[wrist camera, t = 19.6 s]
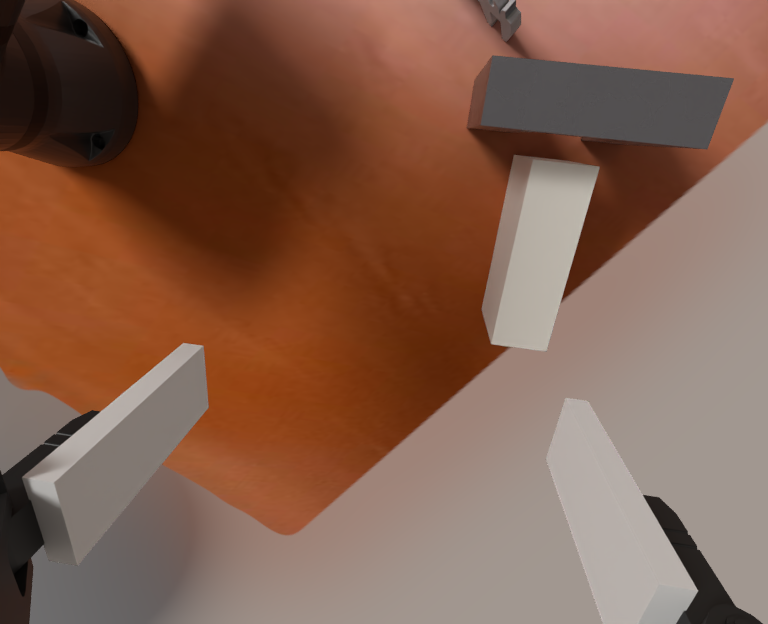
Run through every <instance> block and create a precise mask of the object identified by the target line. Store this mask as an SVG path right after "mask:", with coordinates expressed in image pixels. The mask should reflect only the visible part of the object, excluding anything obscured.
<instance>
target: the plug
mask: <svg viewBox="0 0 768 624" xmlns="http://www.w3.org/2000/svg"><path fill="white" fill-rule="evenodd" d="M599 168H600V167H598V166H593V165H588V164H582V163H577V162H572V161H566V160H557V159H548V158H539V157H530V156H521V155H514V157H513V162H512V166H511V171H510V176H509V181H508V186H507V190H506V195H505V200H504V205H503V209H502V214H501V219H500V224H499V228H498V233H497V238H496V243H495V248H494V252H493V257H492V262H491V267H490V271H489V276H488V281H487V286H486V291H485V295H484V300H483V305H482V313H483V316H484V320H485V324H486V327H487V331H488V335H489V338H490V342H491V344H494V345H501V346H505V347H516V348H523V349H531V350H538V351H545V352H546V351H547V348H548V344H549V341H550V337H551V334H552V330H553V327H554V324H555V320H556V317H557V313H558V310H559V306H560V303H561V299H562V296H563V292H564V289H565V286H566V282H567V279H568V275H569V272H570V268H571V265H572V261H573V258H574V254H575V251H576V247H577V244H578V241H579V237H580V234H581V230H582V227H583V223H584V220H585V216H586V213H587V209H588V206H589V202H590V199H591V196H592V192H593V189H594V185H595V182H596V178H597V175H598V171H599Z"/></svg>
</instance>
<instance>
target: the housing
mask: <svg viewBox="0 0 768 624" xmlns="http://www.w3.org/2000/svg"><path fill="white" fill-rule="evenodd" d="M733 80H734V78H723V77H713V76H702V75H692V74H681V73H671V72H660V71H650V70H639V69H629V68H618V67H608V66H597V65H587V64H576V63H566V62H555V61H545V60H534V59H524V58H513V57H503V56H492V57H491V58H490V60H489V61H488V62H487V64H486V65H485V66H484V68H483V69H482V71H481V72H480V73H479V75H478V76H477V77H476V79H475V81H474V87H473V93H472V99H471V105H470V112H469V118H468V124H467V128H470V129H480V130H489V131H498V132H508V133H517V132H540V133H550V134H559V135H569V136H578V137H582V139H581V140H583V141H593V142H602V143H611V144H621V145H635V146H655V147H674V148H693V149H708V146H709V143H710V141H711V138H712V135H713V133H714V130H715V127H716V125H717V122H718V119H719V117H720V114H721V112H722V109H723V106H724V104H725V101H726V98H727V96H728V93H729V90H730V88H731V85H732V83H733Z"/></svg>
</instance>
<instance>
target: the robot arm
mask: <svg viewBox="0 0 768 624" xmlns="http://www.w3.org/2000/svg"><path fill="white" fill-rule="evenodd" d="M137 115H138V95H137V88H136V83H135V78H134V75H133V72H132V69H131V66H130V63H129V61H128V59H127V56H126V54H125V52H124V51H123V49H122V47H121V45H120V44H119V42H118V40H117V39H116V38H115V36H114V35H113V33H112V32H111V31H110V30H109V28H108V27H107V26H106V25H105V24H104V23H103V22H102V21H101V20H100V19H99V18H98V17H97V16H96V15H95V14H94V13H92V12H91V11H90V10H89V9H87V8H86V7H84V6H83V5H81V4H80V3H78V2H76V1H74V0H0V151H10V152H13V153H16V154H19V155H23V156H26V157H29V158H33V159H36V160H39V161H43V162H46V163H49V164H53V165H57V166H63V167H83V166H94V165H99V164H102V163H105V162H107V161H109V160H111V159H113V158H114V157H116V156H117V155H118V154H119V153H120V152H121V151H122V150H123V149H124V148H125V147H126V145H127V144H128V142H129V141H130V139H131V137H132V135H133V132H134V129H135V126H136V121H137ZM208 408H209V407H208V394H207V382H206V370H205V358H204V346H201V345H194V344H187V343H183V344H182V345H181V346H179V347H178V348H177V349H176V350H174V351H173V352H172V353H171V354H170V355H168V356H167V357H166V358H165V359H164V360H162V361H161V362H160V363H159V364H158V365H156V366H155V367H154V368H153V369H152V370H150V371H149V372H148V373H147V374H146V375H144V376H143V377H142V378H141V379H140V380H138V381H137V382H136V383H135V384H134V385H132V386H131V387H130V388H129V389H128V390H126V391H125V392H124V393H123V394H122V395H120V396H119V397H118V398H117V399H116V400H114V401H113V402H112V403H111V404H110V405H108V406H107V407H106V408H105V409H104V410H102V411H101V412H99V411H93V410H92V411H90V412H88V413H86V414H84V415H82V416H80V417H77V418H75V419H73V420H72V421H70V422H69V423H68V424H67V425H65V426H64V427H63V428H62V429H60V430H59V431H58V432H57V434H56V435H55V434H54V435H53V436H51V437H50V438H49V439H48V440H46V441H45V443H44V444H43V445H40V446H39V447H37V448H36V449H35V450H34V451H32V452H31V453H30V454H29V455H27V456H26V457H25V458H23V459H22V460H21V461H20V462H19V463H17V464H16V465H15V466H13V467H12V468H11V469H10V470H8V471H7V472H6V473H4V474H3V475H2V474H1V471H0V624H29V618H30V604H31V592H32V591H31V590H32V578H33V564H32V560H31V557H32V556H33V555H34V554H35V553H36V552H37V551H38V549H40V547H41V546H42V545H44V548H45V551H46V554H47V557H48V560H49V561H53V562H59V563H64V564H70V565H75V566H78V565H79V564H80V562H81V561H82V560H83V559H84V557H85V556H86V555H87V554H88V553H89V551H90V550H91V549H92V548H93V547H94V545H95V544H96V543H97V542H98V541H99V539H100V538H101V537H102V536H103V535H104V533H105V532H106V531H107V530H108V529H109V527H110V526H111V525H112V524H113V522H114V521H115V520H116V519H117V518H118V516H119V515H120V514H121V513H122V512H123V510H124V509H125V508H126V507H127V505H128V504H129V503H130V502H131V501H132V499H133V498H134V497H135V496H136V495H137V493H138V492H139V491H140V490H141V488H142V487H143V486H144V485H145V484H146V483H147V481H148V480H149V479H150V478H151V476H152V475H153V474H154V473H155V471H156V470H157V469H158V468H159V467H160V466H161V464H162V463H163V462H164V461H165V460H166V458H167V457H168V456H169V455H170V454H171V452H172V451H173V450H174V449H175V447H176V446H177V445H178V444H179V443H180V441H181V440H182V439H183V438H184V437H185V435H186V434H187V433H188V432H189V431H190V429H191V428H192V427H193V426H194V424H195V423H196V422H197V421H198V420H199V418H200V417H201V416H202V415H203V414H204V412H205V411H206V410H207V409H208ZM546 461H547V464H548V467H549V470H550V472H551V475H552V478H553V481H554V484H555V487H556V490H557V493H558V496H559V499H560V501H561V504H562V507H563V510H564V513H565V516H566V519H567V522H568V525H569V527H570V530H571V533H572V536H573V539H574V542H575V545H576V548H577V550H578V553H579V556H580V559H581V562H582V565H583V568H584V571H585V574H586V577H587V579H588V582H589V585H590V588H591V591H592V594H593V597H594V600H595V603H596V605H597V608H598V611H599V614H600V617H601V620H602V623H603V624H762V623H761V622H760V621H759V620H757V619H756V618H755V617H754V616H752V615H751V614H748V613H747V612H745V611H743V610H741V609H739V608H737V607H736V606H735V605H734V603H733V602H732V600H731V598H730V597H729V595H728V594H727V592H726V591H725V589H724V587H723V586H722V584H721V583H720V581H719V580H718V578H717V577H716V575H715V574H714V572H713V570H712V569H711V567H710V566H709V564H708V563H707V561H706V559H705V558H704V556H703V555H702V553H701V552H700V550H697V546H696V544H695V542H694V541H693V539H692V538H691V536H690V535H688V531H687V530H686V528H685V527H684V525H683V523H682V522H681V520H680V519H679V517H678V516H677V514H676V513H675V512H674V511H673V510H672V509H671V508H669V506H667V505H666V504H665V503H664V502H663V501H662V500H661V499H660V498H659V497H652V496H646V495H642V493H641V492H640V490H639V488H638V487H637V485H636V483H635V481H634V479H633V478H632V476H631V474H630V473H629V471H628V469H627V467H626V466H625V464H624V462H623V460H622V459H621V457H620V455H619V454H618V452H617V450H616V448H615V447H614V445H613V443H612V441H611V440H610V438H609V436H608V435H607V433H606V431H605V430H604V428H603V426H602V424H601V423H600V421H599V419H598V417H597V416H596V414H595V412H594V410H593V409H592V407H591V405H590V404H589V402H588V401H585V400H578V399H571V398H565V401H564V404H563V408H562V410H561V414H560V417H559V420H558V423H557V426H556V429H555V432H554V435H553V438H552V441H551V445H550V447H549V451H548V454H547V457H546Z"/></svg>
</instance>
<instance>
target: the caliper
mask: <svg viewBox="0 0 768 624" xmlns="http://www.w3.org/2000/svg"><path fill="white" fill-rule="evenodd" d="M478 1H479V2H480V5H481V7H482V10H483V12H484V15H485V17H486V20H487V22H488V23H489V24H490V26H491V27H492V26H493V25H494V23H495V22H496V21H497V20H499V21H500V22H501V32H502V39H503V40H504V41H505V42H507V41H508V39H509V38H510V37H511V36H512V35H513V34H514V33H515V32H516V30H517V29H518V28H519V26H520V25H521V12H520V11H519V10H518V9H517V8H516V0H510V1H509V0H478Z"/></svg>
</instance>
